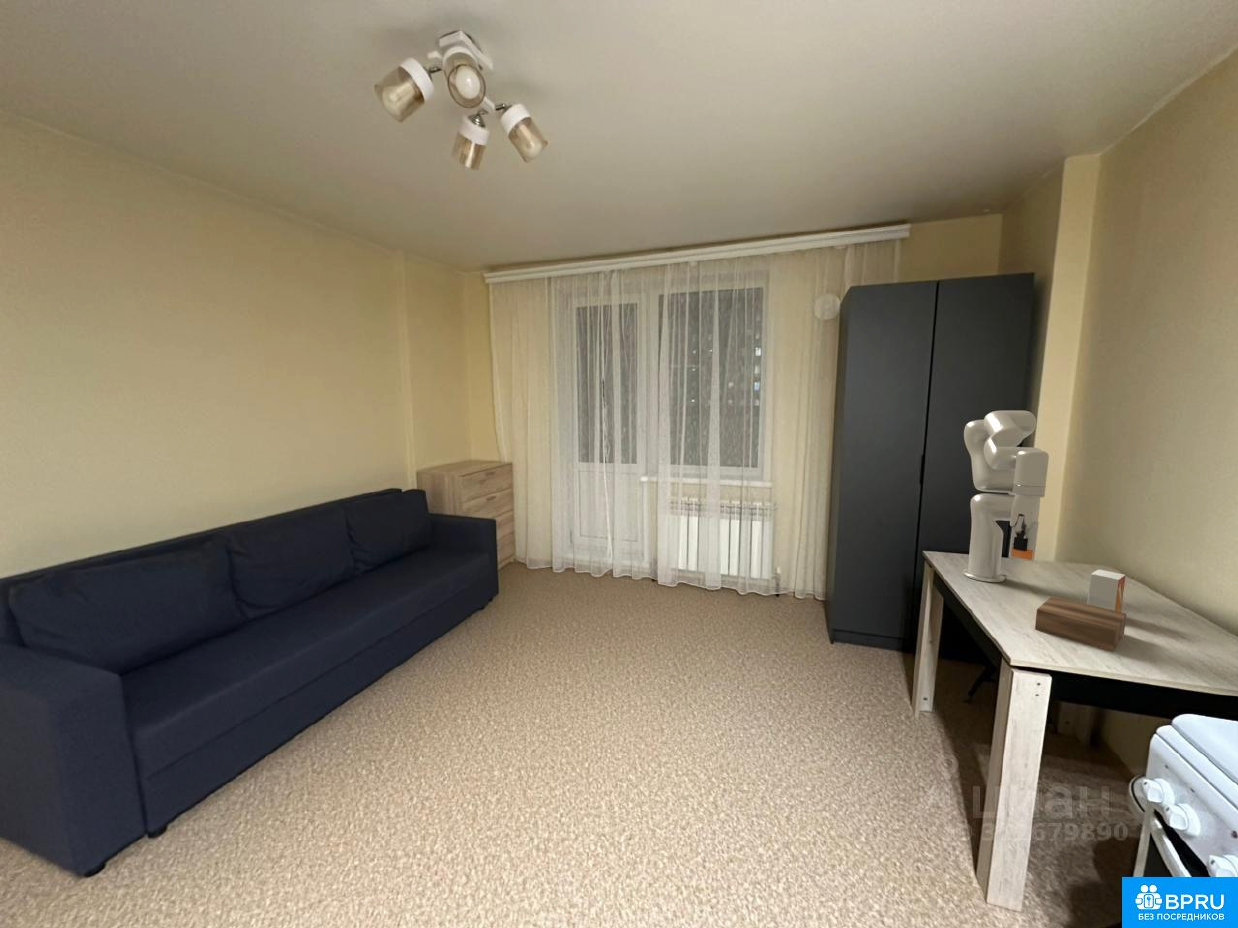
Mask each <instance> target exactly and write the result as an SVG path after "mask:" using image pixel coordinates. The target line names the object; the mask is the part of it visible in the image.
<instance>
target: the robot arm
mask: <svg viewBox="0 0 1238 928" xmlns="http://www.w3.org/2000/svg"><path fill="white" fill-rule="evenodd" d="M1036 426H1037V419H1036V416H1035V415H1034V414H1033V413H1032V412H1031V411H1027V410H995V411H991V412H989V413H988V414H986V415H985V416H984V419H976V420H971V421H969V422H968V423H966V425H965V427H964V430H963V440H964V443H965V447H966V449H967V451H968V453H969V456H970V459H971V470H972V480H973V481H972V482H973V485H974V486H973V487H974V488H975V489H976V490H978V491H980V492H988V493H979V494H976V495H975V494H974V496H972V498H971V499H970V513H971V515H970V517H971V529H970V530H971V532H970V541H969V543H970V544H969V554H968V555H969V556H968V566H967V567H968V568H964V569H963V570H962V574H963V576H965V577H967V578H970V579H972V580H977V581H981V582H987V583H1002V582H1004V581H1005V578H1006V577H1005V576H1004V575H1003V574H1001V563H1002V552H1003V541H1004V531H1003V529H1002V528H1001V526H999V524H998V523H997V522H996V521H1004V522H1005V521H1007V522H1009V525H1010V527H1011V528H1012V527H1013V526H1014V525H1016V524H1015V523H1016V522H1017V525H1016V528H1015V537H1014V545H1013V549H1015V550H1020V551H1027V544H1028V539H1027V534H1028V529H1030V528H1032V525H1033V523H1035V522H1039V517H1040V506H1041V505H1040V504H1041V499H1042V498H1045V495H1046V485H1047V478H1048V477H1047V476H1048V468H1049V467H1048V466H1049V460H1050V459H1049V457H1050V456H1049V453H1048V452H1047V451H1045V450H1042V449H1040V448H1037V447H1032V446H1030V447H1028V446H1027V447H1024V446H1023V447H1021V446H1019V445H1020V444H1021V443H1022V441H1023V440H1024V439H1025V438H1027V437H1029V436H1031V435H1032V434H1033V432H1035V430H1036ZM989 492H990V493H989ZM991 492H992V493H991ZM1003 493H1006V494H1003ZM1022 526H1026V528H1022ZM1022 530H1025V532H1024V531H1022Z"/></svg>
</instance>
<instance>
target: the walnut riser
mask: <svg viewBox="0 0 1238 928" xmlns="http://www.w3.org/2000/svg"><path fill="white" fill-rule="evenodd" d="M1126 620H1127V613H1126V612H1125V613H1124V612H1122V611H1121V612H1117V611H1113V610H1108V609H1104V608H1100V607H1096V606H1091V605H1087V603H1082V602H1078V601H1074V600H1069V599H1065V598H1062V597H1061V598H1060V597H1058V596H1052V595H1051V596H1050V597H1049V598H1048V599H1047V600H1045V602H1043V603H1042V604H1040V606H1039V607H1038V608H1037V609H1036V615H1035V625H1034V630H1036V631H1040V632H1043V633H1046V634H1050V635H1054V636H1058V637H1060V638H1063V639H1067V640H1068V639H1069V640H1072V641H1074V642H1075V641H1076V642H1078V643H1082V644H1086V645H1089V646H1093V647H1097V648H1100V649H1103V650H1107V651H1110V652H1114V651H1115V650H1116V648H1117V646H1118V644H1119V643H1120V641H1121V640H1122V638H1123V636H1124V634H1125V628H1126Z"/></svg>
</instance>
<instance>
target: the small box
mask: <svg viewBox="0 0 1238 928" xmlns="http://www.w3.org/2000/svg"><path fill="white" fill-rule="evenodd" d="M1126 576H1127V575H1126V574H1123V573H1118V572H1113V571H1109V570H1103V569H1099V568H1098V569H1097V570H1095V571H1093V572H1092V573H1091V574H1090V578H1089V586H1088V595H1087V602H1086V604H1087V605H1091V606H1096V607H1100V608H1104V609H1108V610H1113V611H1117V612H1121V613H1122V607H1123V599H1124V591H1125V583H1126Z"/></svg>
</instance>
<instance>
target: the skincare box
mask: <svg viewBox="0 0 1238 928" xmlns="http://www.w3.org/2000/svg"><path fill="white" fill-rule="evenodd" d="M1015 524H1016V525H1017V522H1016V523H1015ZM1016 525H1014V526H1013V527H1011V535H1010V541H1009V542H1010V544H1009V553H1008V558H1009V559H1015V560H1021V561H1026V562H1030V563H1034V561H1035V556H1036V546H1037V538H1038V530H1039V525H1040V523H1039V521H1038V522H1035V523H1033V525H1032V528H1030V529H1028V534H1027V539H1028V544H1027V551H1020V550H1015V549H1013V545H1014V537H1015V528H1016ZM1022 528H1026V526H1022ZM1022 531H1024V532H1025V530H1022Z"/></svg>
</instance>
